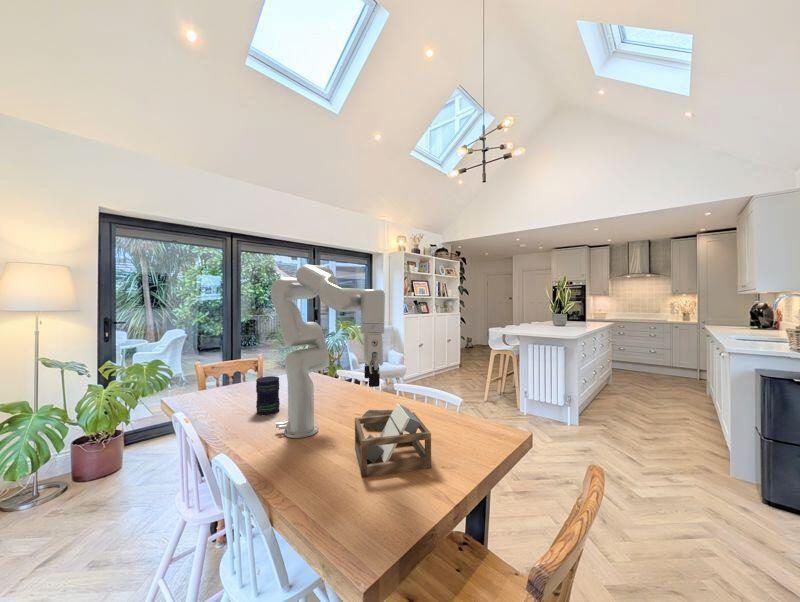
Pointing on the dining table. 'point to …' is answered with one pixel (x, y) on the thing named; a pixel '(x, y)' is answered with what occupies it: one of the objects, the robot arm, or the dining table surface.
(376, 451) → the basalt block
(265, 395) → the storage jar
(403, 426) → the hatch leaf
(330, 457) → the dining table surface
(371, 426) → the marble piece
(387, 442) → the walnut hatch frame
